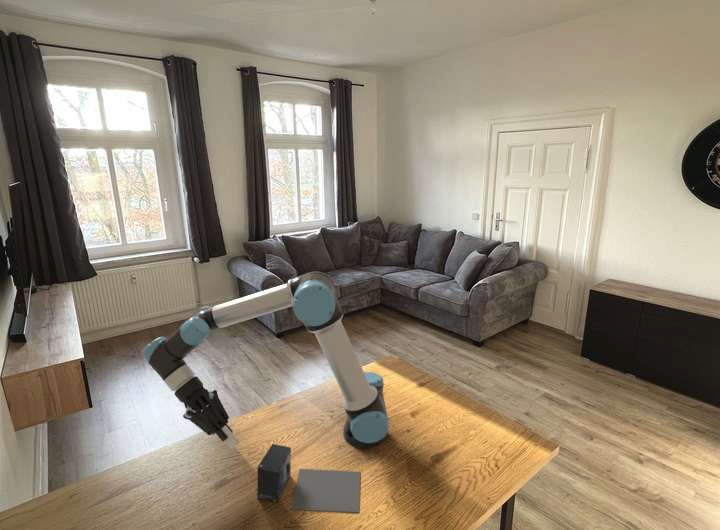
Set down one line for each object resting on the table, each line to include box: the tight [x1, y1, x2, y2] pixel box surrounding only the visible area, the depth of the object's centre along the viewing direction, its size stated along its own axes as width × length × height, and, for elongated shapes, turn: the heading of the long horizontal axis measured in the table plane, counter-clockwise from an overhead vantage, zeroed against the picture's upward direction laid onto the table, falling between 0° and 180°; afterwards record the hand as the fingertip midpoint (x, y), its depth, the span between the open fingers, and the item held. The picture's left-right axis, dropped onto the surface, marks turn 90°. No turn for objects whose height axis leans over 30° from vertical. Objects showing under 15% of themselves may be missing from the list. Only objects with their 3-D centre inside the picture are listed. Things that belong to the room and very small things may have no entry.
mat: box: [289, 468, 361, 514], centre depth 114 cm, size 19×15×1 cm
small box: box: [256, 443, 292, 503], centre depth 114 cm, size 11×6×10 cm, turn 168°
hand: (235, 445), depth 114 cm, fingers closed
